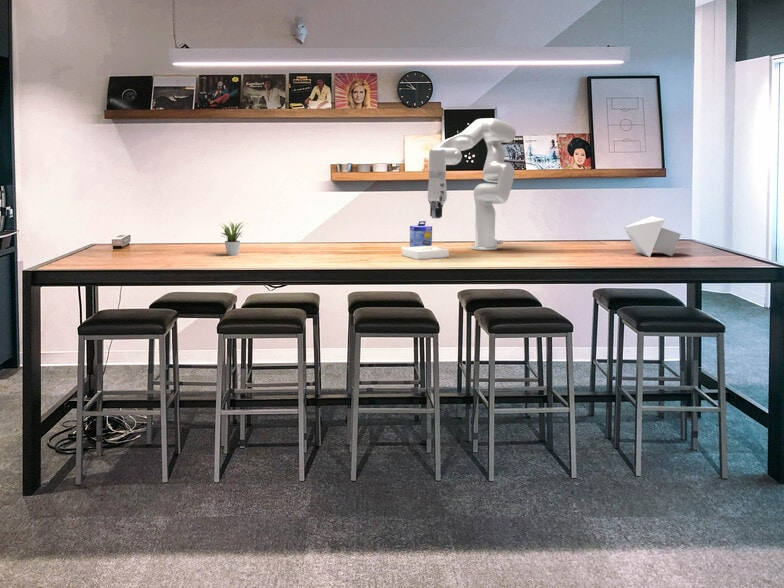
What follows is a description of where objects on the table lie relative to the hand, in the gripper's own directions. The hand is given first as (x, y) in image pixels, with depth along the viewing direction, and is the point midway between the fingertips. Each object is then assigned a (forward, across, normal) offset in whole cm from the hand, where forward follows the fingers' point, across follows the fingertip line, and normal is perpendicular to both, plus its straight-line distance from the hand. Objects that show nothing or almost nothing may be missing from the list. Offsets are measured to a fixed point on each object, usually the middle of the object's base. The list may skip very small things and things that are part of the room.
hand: (436, 216), depth 364 cm
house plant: (+20, +45, +80) cm, 94 cm away
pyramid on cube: (+17, -40, -90) cm, 100 cm away
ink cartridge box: (+18, +18, -2) cm, 26 cm away
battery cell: (+1, 0, 0) cm, 1 cm away
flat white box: (+18, 0, +5) cm, 19 cm away
